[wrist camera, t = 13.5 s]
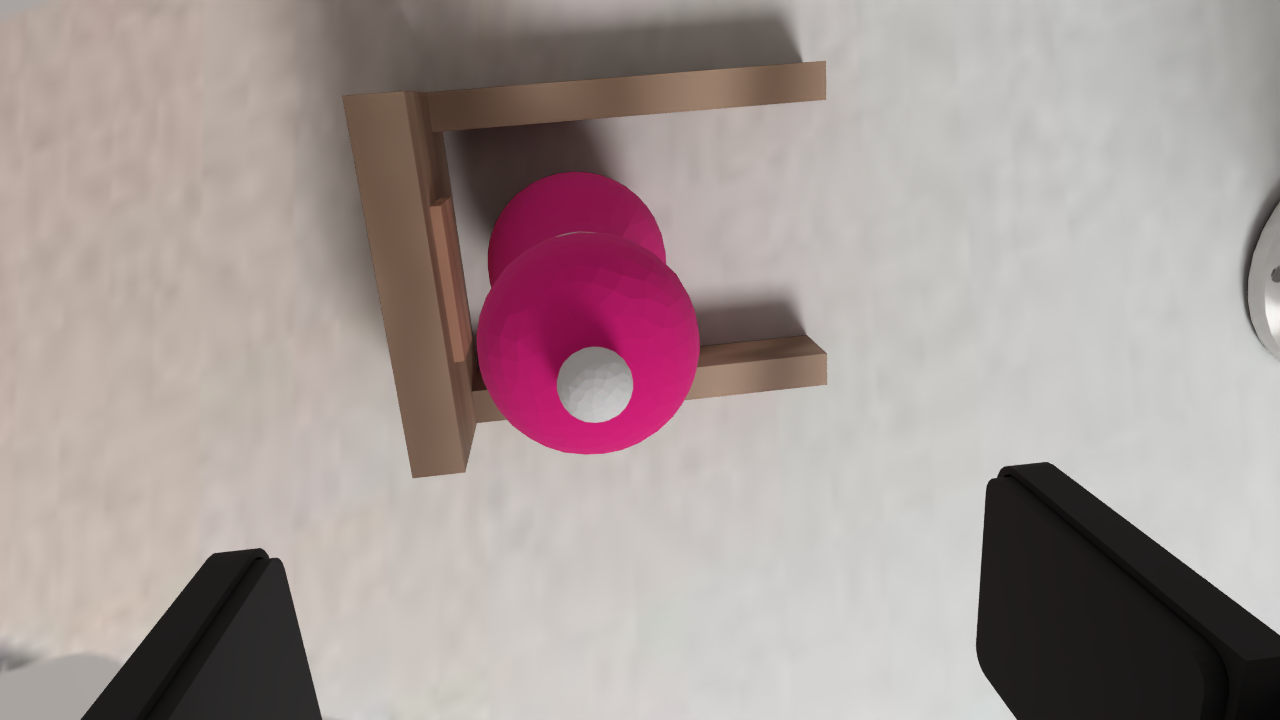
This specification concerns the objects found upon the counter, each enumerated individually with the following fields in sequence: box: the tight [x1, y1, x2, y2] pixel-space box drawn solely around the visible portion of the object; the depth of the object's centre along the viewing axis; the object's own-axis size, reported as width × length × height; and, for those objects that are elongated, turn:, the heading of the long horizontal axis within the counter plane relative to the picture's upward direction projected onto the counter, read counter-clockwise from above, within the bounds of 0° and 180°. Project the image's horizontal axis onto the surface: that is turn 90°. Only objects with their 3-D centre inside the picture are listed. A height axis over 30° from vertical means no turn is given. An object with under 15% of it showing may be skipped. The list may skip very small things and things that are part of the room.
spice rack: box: [342, 61, 827, 478], centre depth 33 cm, size 18×14×8 cm
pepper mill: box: [477, 172, 700, 454], centre depth 27 cm, size 7×7×20 cm
